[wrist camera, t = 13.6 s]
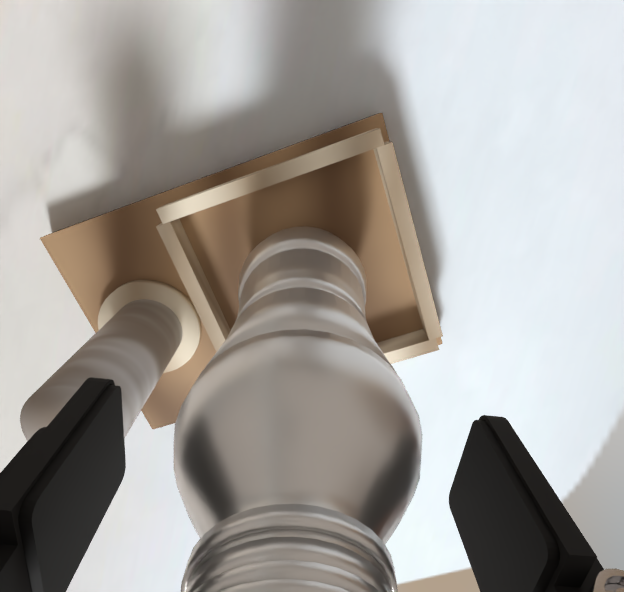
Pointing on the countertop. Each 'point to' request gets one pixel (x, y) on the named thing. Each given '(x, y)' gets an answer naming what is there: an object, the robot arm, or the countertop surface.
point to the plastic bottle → (297, 433)
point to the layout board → (231, 267)
